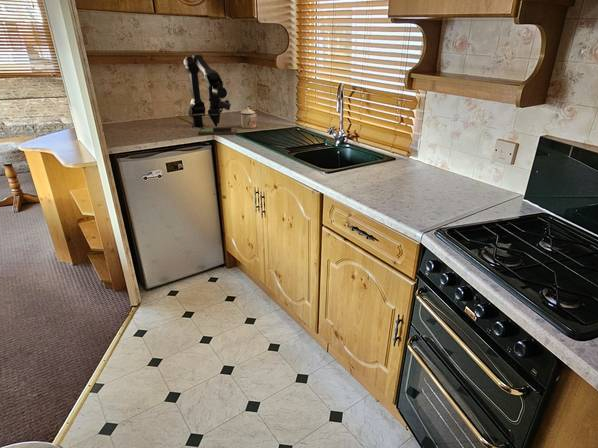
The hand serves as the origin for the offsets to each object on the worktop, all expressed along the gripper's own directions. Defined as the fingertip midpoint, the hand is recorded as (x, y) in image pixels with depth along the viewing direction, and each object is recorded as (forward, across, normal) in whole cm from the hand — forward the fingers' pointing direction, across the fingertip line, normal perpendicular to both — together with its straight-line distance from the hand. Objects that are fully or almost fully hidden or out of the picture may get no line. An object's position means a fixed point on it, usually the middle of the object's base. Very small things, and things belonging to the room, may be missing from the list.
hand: (217, 124), depth 230 cm
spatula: (+4, 0, +2) cm, 4 cm away
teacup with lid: (+5, +19, -17) cm, 26 cm away
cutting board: (+5, +2, +1) cm, 5 cm away
